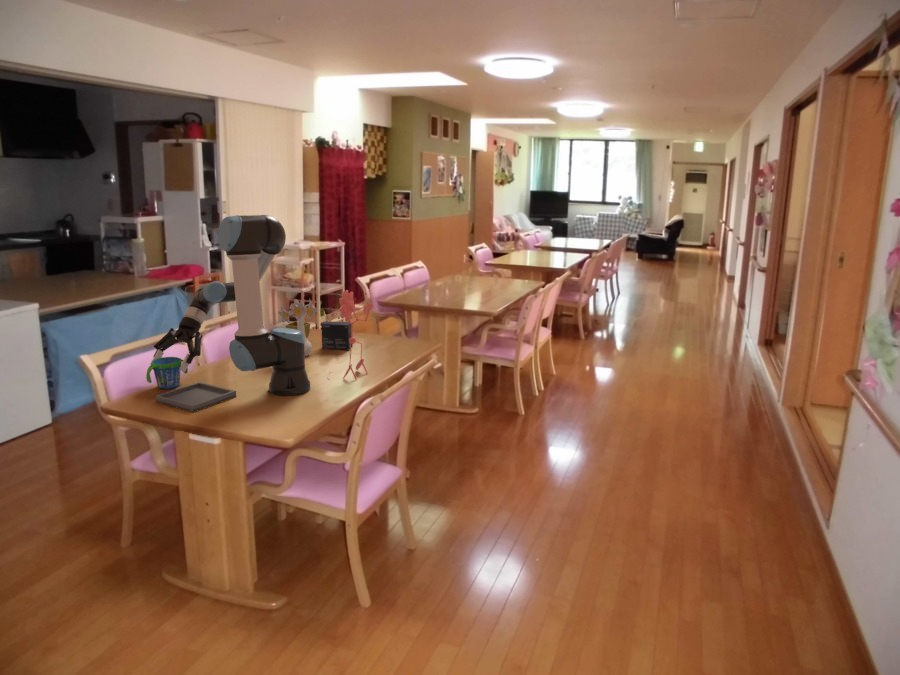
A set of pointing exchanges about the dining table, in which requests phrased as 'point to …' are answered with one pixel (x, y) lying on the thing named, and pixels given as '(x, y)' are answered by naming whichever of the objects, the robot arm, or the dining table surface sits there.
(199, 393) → the cup tray
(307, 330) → the flower pot
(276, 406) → the dining table surface
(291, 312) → the flower vase
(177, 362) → the snack cup
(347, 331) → the small box
